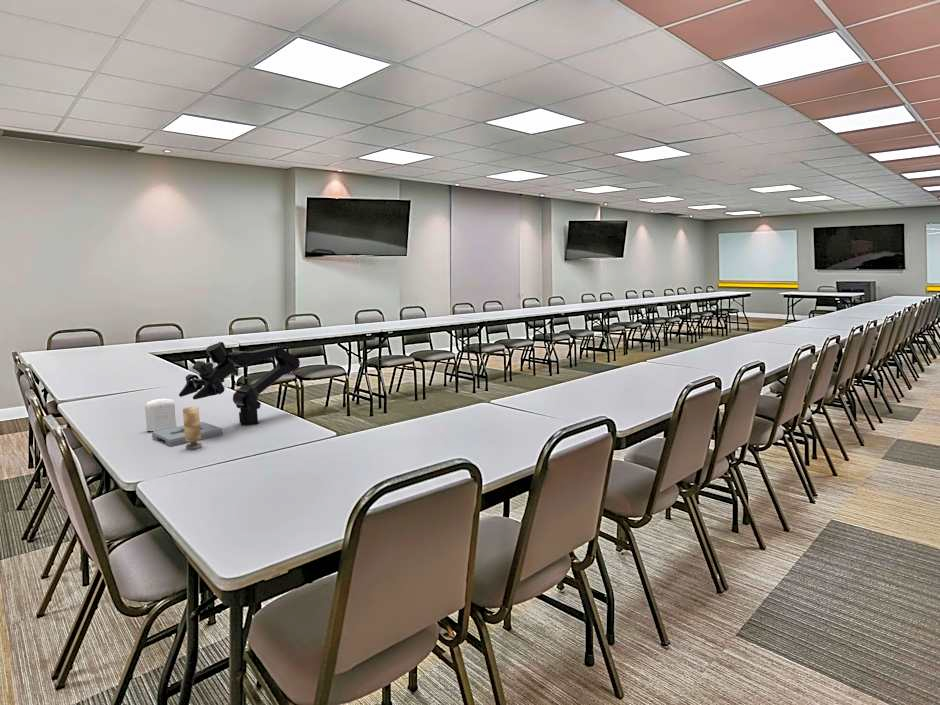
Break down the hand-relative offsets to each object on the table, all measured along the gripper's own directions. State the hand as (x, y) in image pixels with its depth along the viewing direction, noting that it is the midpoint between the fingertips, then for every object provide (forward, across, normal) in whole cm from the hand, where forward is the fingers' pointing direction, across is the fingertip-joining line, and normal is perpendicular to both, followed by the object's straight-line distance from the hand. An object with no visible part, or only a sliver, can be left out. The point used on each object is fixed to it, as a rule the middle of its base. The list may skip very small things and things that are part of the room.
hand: (186, 397), depth 213 cm
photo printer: (+6, -21, +14) cm, 26 cm away
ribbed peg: (+12, +12, +12) cm, 21 cm away
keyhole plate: (+6, -3, +14) cm, 16 cm away
